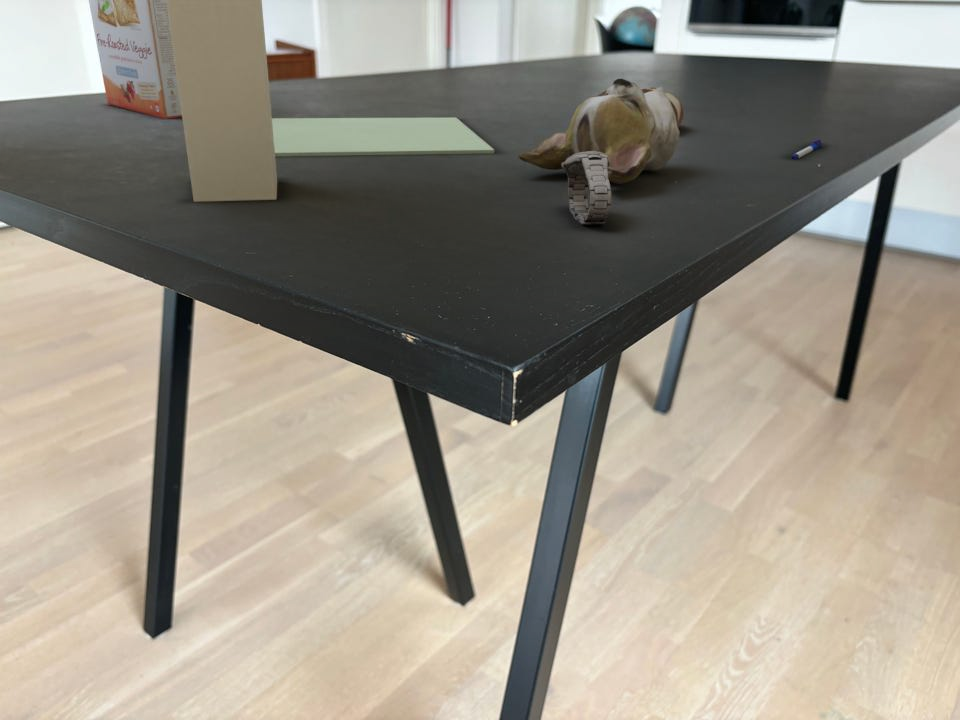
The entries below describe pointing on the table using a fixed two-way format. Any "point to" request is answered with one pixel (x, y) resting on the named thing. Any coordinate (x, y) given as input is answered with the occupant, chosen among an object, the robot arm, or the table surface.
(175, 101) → the cracker box
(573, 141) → the ceramic sculpture
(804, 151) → the blue and white marker
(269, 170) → the cream rectangular block
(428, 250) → the table surface
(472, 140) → the mat
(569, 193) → the wristwatch
